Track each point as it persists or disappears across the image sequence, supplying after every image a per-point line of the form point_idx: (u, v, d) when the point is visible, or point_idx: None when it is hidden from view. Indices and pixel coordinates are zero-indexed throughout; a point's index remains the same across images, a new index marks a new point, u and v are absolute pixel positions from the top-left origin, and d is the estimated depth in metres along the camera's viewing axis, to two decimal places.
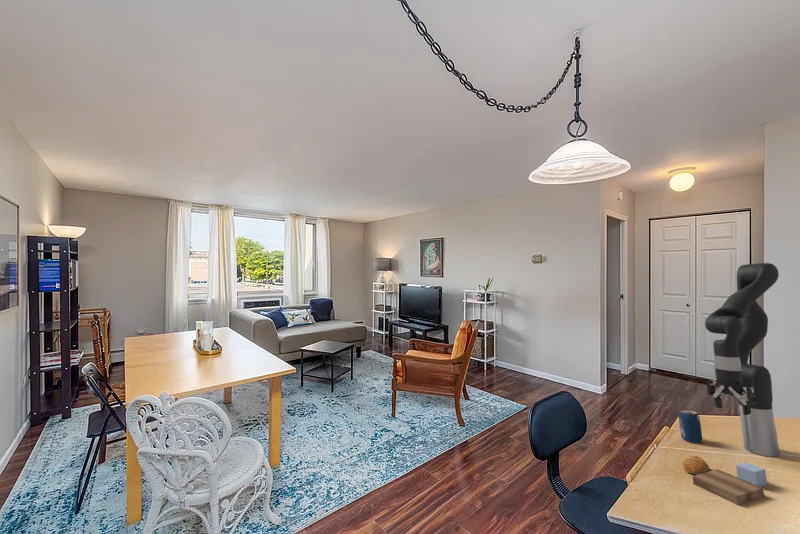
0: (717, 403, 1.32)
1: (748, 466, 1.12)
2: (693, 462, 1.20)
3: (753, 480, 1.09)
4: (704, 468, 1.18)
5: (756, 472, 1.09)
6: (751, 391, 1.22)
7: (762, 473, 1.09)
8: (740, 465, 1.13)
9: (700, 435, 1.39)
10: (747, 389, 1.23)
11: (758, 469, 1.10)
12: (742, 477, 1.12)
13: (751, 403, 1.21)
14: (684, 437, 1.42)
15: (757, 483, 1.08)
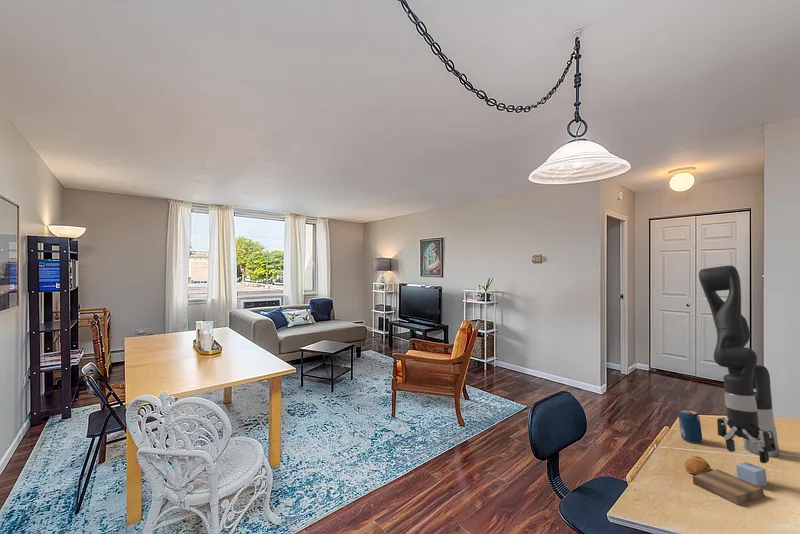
0: (729, 446, 1.16)
1: (748, 466, 1.12)
2: (695, 463, 1.19)
3: (753, 480, 1.09)
4: (706, 468, 1.17)
5: (756, 472, 1.09)
6: (769, 436, 1.06)
7: (762, 473, 1.09)
8: (740, 465, 1.13)
9: (700, 435, 1.39)
10: (764, 434, 1.07)
11: (758, 469, 1.10)
12: (742, 477, 1.12)
13: (769, 450, 1.06)
14: (684, 437, 1.42)
15: (757, 483, 1.08)
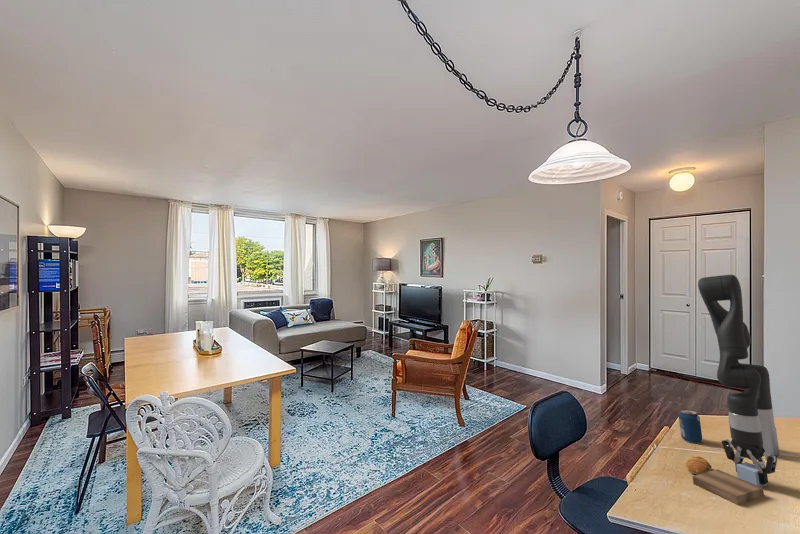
0: None
1: (748, 466, 1.12)
2: (697, 463, 1.19)
3: (753, 480, 1.09)
4: (708, 469, 1.17)
5: (756, 472, 1.09)
6: (773, 461, 1.06)
7: None
8: (740, 465, 1.13)
9: (700, 435, 1.39)
10: (769, 458, 1.06)
11: None
12: (742, 477, 1.12)
13: (768, 472, 1.06)
14: (684, 437, 1.42)
15: (757, 483, 1.08)
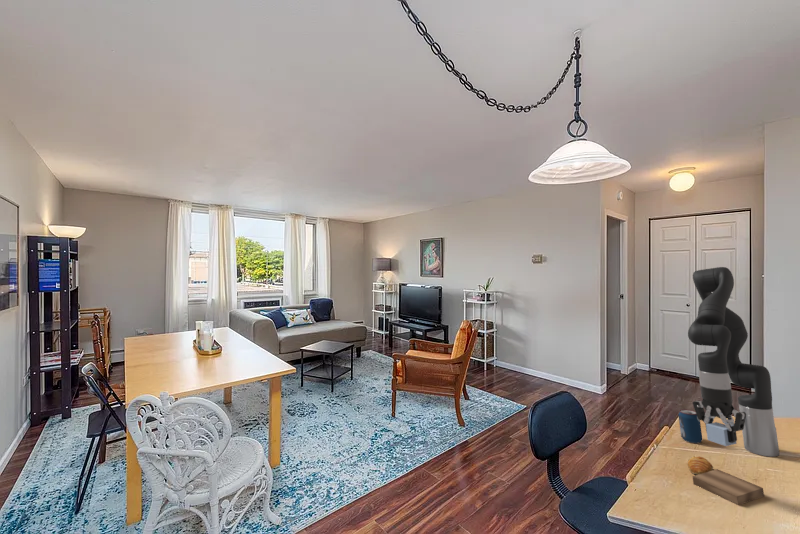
0: None
1: (717, 425, 1.10)
2: (699, 463, 1.19)
3: (722, 438, 1.07)
4: (709, 469, 1.17)
5: (725, 430, 1.07)
6: (741, 417, 1.04)
7: None
8: (710, 424, 1.11)
9: (700, 435, 1.39)
10: (737, 414, 1.04)
11: None
12: (711, 436, 1.10)
13: (736, 429, 1.04)
14: (684, 437, 1.42)
15: (726, 441, 1.06)
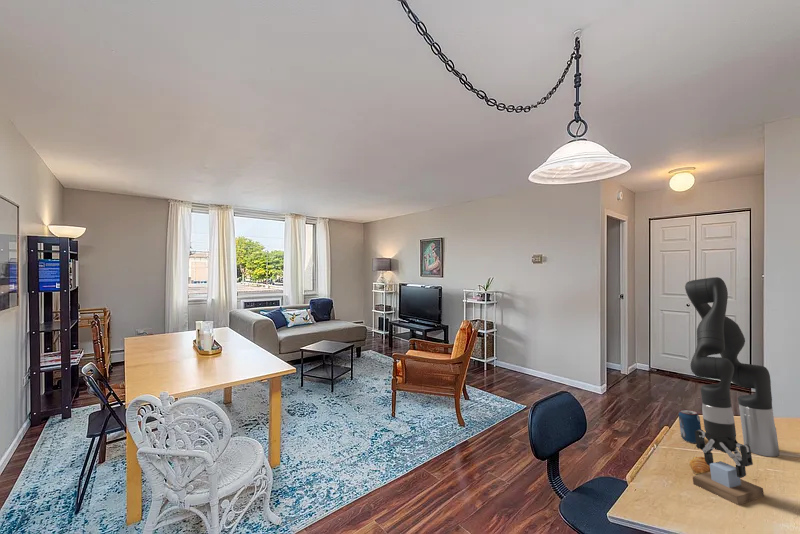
0: (708, 459, 1.12)
1: (721, 465, 1.09)
2: (701, 464, 1.18)
3: (726, 480, 1.06)
4: None
5: (729, 471, 1.06)
6: (746, 450, 1.02)
7: (735, 473, 1.06)
8: (714, 464, 1.10)
9: None
10: (741, 447, 1.03)
11: (732, 468, 1.07)
12: (715, 476, 1.09)
13: (746, 465, 1.02)
14: (684, 437, 1.42)
15: (730, 483, 1.05)
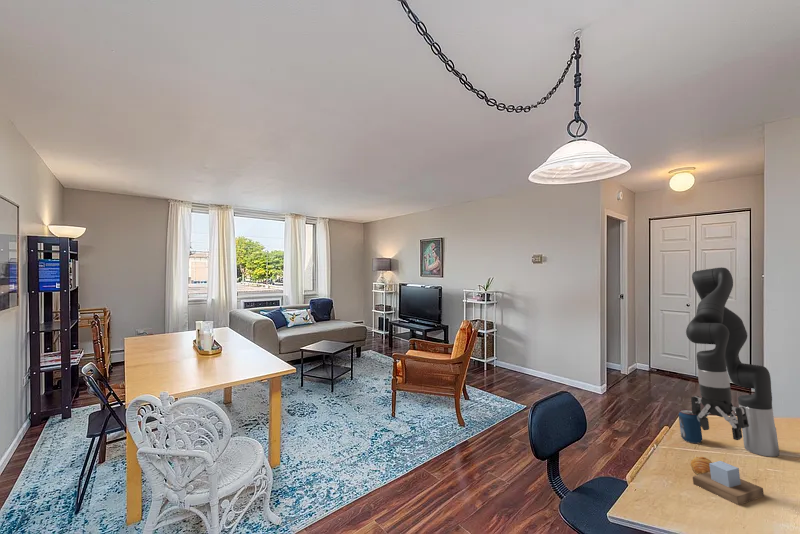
0: (703, 424, 1.13)
1: (721, 465, 1.09)
2: (702, 464, 1.18)
3: (725, 479, 1.06)
4: None
5: (728, 471, 1.06)
6: (741, 412, 1.03)
7: (735, 472, 1.06)
8: (713, 464, 1.10)
9: (700, 435, 1.39)
10: (737, 410, 1.04)
11: (731, 468, 1.07)
12: (715, 476, 1.09)
13: (742, 426, 1.03)
14: (684, 437, 1.42)
15: (729, 482, 1.05)
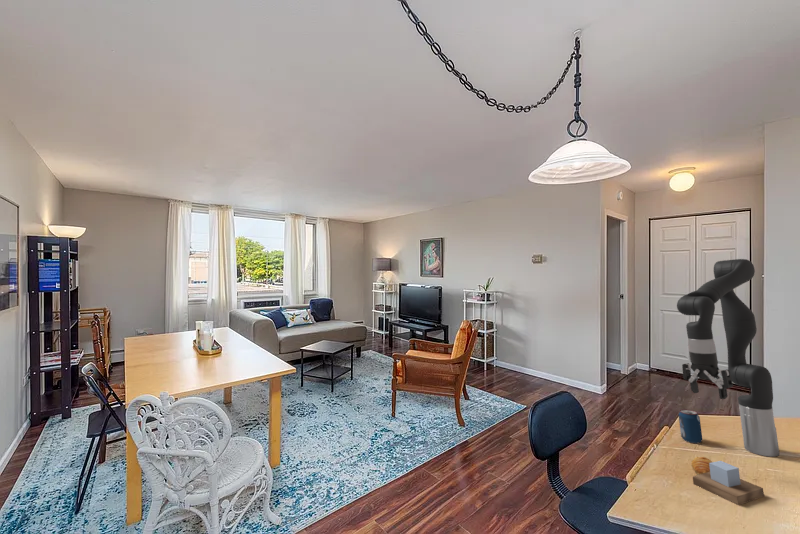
0: (693, 388, 1.26)
1: (721, 465, 1.09)
2: (703, 464, 1.18)
3: (725, 479, 1.06)
4: None
5: (728, 471, 1.06)
6: (726, 374, 1.16)
7: (735, 472, 1.06)
8: (713, 463, 1.10)
9: (700, 435, 1.39)
10: (722, 372, 1.17)
11: (731, 468, 1.07)
12: (715, 475, 1.09)
13: (727, 386, 1.16)
14: (684, 437, 1.42)
15: (729, 482, 1.06)
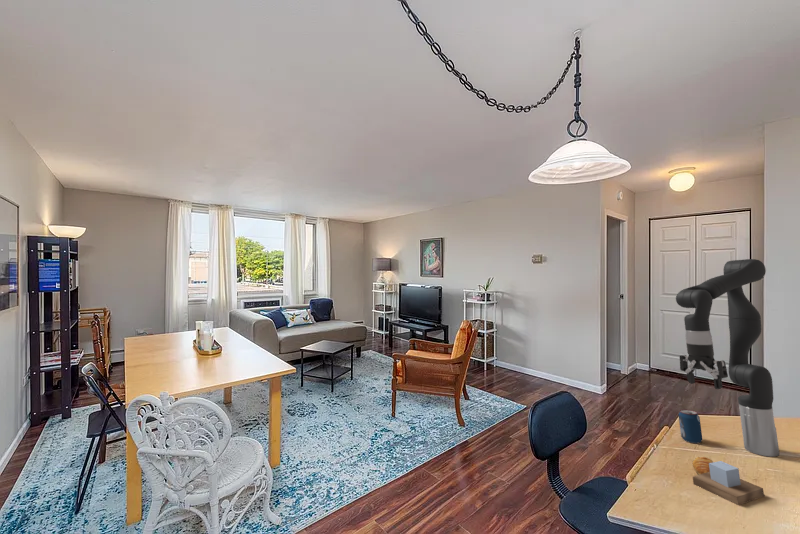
0: (690, 379, 1.29)
1: (721, 465, 1.09)
2: (704, 464, 1.18)
3: (724, 479, 1.06)
4: None
5: (727, 471, 1.06)
6: (721, 364, 1.20)
7: (734, 473, 1.06)
8: (713, 464, 1.10)
9: (700, 435, 1.39)
10: (717, 363, 1.20)
11: (731, 468, 1.07)
12: (714, 476, 1.09)
13: (722, 377, 1.19)
14: (684, 437, 1.42)
15: (728, 482, 1.06)
